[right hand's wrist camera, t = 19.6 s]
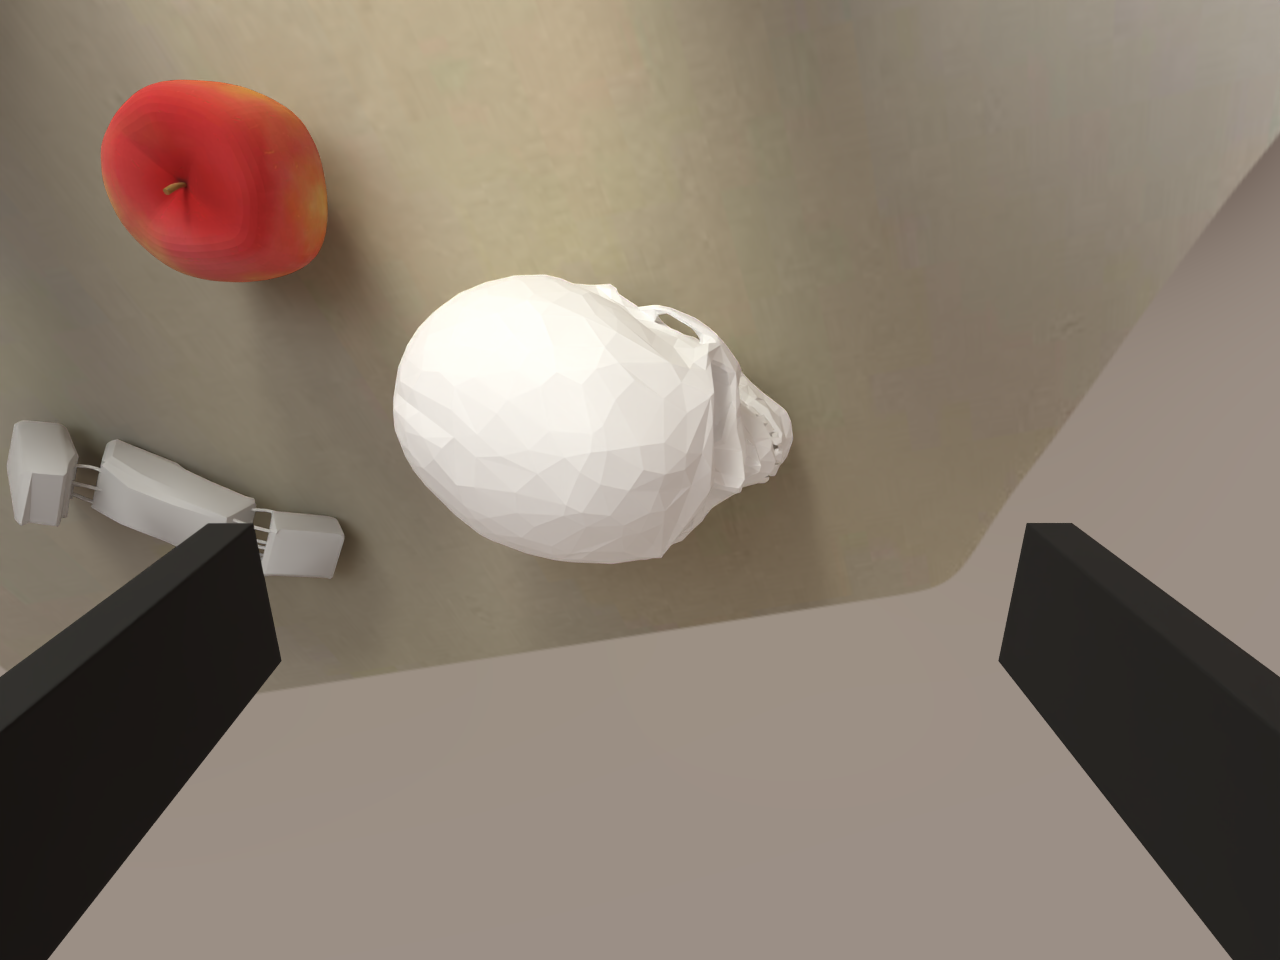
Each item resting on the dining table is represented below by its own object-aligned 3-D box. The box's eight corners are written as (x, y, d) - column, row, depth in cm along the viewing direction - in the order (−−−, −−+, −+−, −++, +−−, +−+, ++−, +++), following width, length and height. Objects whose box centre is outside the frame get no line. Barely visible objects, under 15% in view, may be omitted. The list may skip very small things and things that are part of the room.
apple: (222, 55, 39) (89, 8, 29) (388, 154, 40) (313, 140, 31) (166, 222, 42) (29, 227, 32) (324, 307, 43) (237, 336, 34)
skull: (763, 524, 48) (821, 656, 33) (430, 462, 47) (333, 571, 32) (818, 323, 44) (913, 370, 29) (455, 247, 43) (356, 257, 28)
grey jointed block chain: (26, 460, 46) (-59, 507, 40) (33, 408, 45) (-54, 447, 39) (345, 556, 51) (314, 611, 45) (359, 511, 50) (329, 561, 43)
